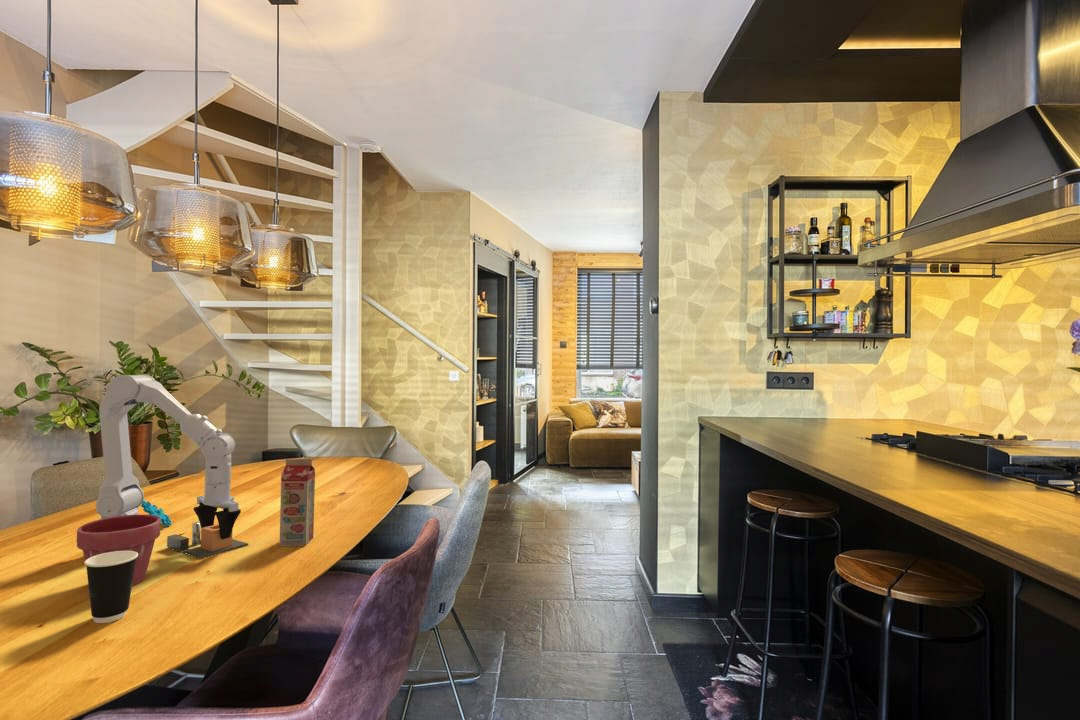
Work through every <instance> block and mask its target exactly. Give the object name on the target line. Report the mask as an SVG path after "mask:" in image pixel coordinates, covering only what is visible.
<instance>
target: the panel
mask: <svg viewBox="0 0 1080 720" xmlns="http://www.w3.org/2000/svg"><path fill="white" fill-rule="evenodd" d="M247 546H249V543H248V542H245V541H240V540H237V539H234V538H232V546H230V547H226V548H223V549H219V550H216V551H210V550H206V549H203V548H201V545H198V546H195V547H192V548H189V549H188V550H184V551H183V552H182V554H185V553H187V554H186V555H188V554H190V555H189V556H191V555H193V556H192V557H194V556H196V557H195V558H198V557H199V558H198V559H201V558H202V559H205V558H204V557H206V558H209V557H212V556H211V555H213V556H215V554H216V555H220V554H223V553H227V552H229V551H233V550H236V549H240V548H243V547H247ZM226 551H227V552H226ZM219 553H220V554H219ZM208 556H209V557H208Z"/></svg>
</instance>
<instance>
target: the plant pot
mask: <svg viewBox="0 0 1080 720" xmlns="http://www.w3.org/2000/svg"><path fill="white" fill-rule="evenodd" d="M99 519H100V520H99ZM99 519H96V520H93V522H92V521H90V522H87V523H85V524H82V525H81V526H79V527H78V528H77V530H76V547H77V549H79V550H82V554H83V559H84V562H85V561H86V560H87V559H88V558H90V557H93V556H96V555H99V554H103V553H108V552H115V551H134V552H137V553H138V557H137V558H136V563H135V569H134V576H133V582H132V586H134V585H137V584H139V583H142V582H143V581H144V580H145V578H146V575H147V571H148V568H149V567H148V566H149V564H150V561H151V557H152V553H153V549H154V546H155V541H156V539H158V538H159V537H160V535H161V522H160V518H159V517H158V516H154V515H149V514H138V515H125V516H116V517H110V518H105V519H101V518H99Z"/></svg>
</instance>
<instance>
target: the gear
mask: <svg viewBox="0 0 1080 720" xmlns="http://www.w3.org/2000/svg"><path fill="white" fill-rule="evenodd" d="M140 507H141V508H143V509H142V510H143V511H144V513H147V514H148V515H154V516H158V517H159V518H160V523H161V525H162V526H164V527H166V526H167V527H170V526H172V522H173V520H171V519H170V516H169V515H168V514H165V510H164V508H162V507H160V508H159V509H158V505H156V504H155V503H154V504H153V505H152V502H150V501H146V500H144V501H143V503H142V504H141V505H140ZM169 525H170V526H169Z"/></svg>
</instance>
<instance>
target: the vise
mask: <svg viewBox="0 0 1080 720" xmlns="http://www.w3.org/2000/svg"><path fill="white" fill-rule="evenodd" d="M191 530H192V531H191V545H192V546H198V545H197V544H199V545H201V525H200V522H199V521H197V522H192V526H191ZM167 547H168V548H170V549H169V550H172V549H174V550H173V551H175V550H177V551H176V552H178V551H180V552H179V553H182V552H181V551H184V550H188V549H190V548H189V547H190V538H189V537H187V536H183V535H180V534H176V533H175V534H171V535H167V537H166V548H167ZM168 548H167V549H168Z"/></svg>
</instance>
